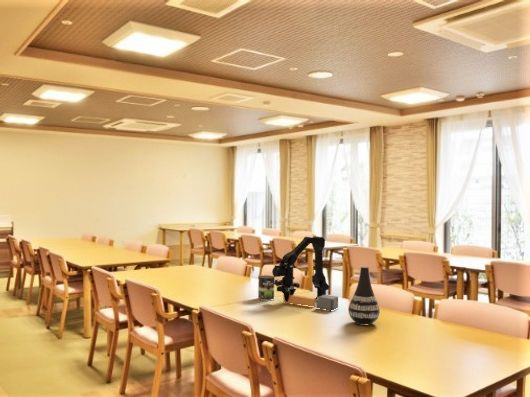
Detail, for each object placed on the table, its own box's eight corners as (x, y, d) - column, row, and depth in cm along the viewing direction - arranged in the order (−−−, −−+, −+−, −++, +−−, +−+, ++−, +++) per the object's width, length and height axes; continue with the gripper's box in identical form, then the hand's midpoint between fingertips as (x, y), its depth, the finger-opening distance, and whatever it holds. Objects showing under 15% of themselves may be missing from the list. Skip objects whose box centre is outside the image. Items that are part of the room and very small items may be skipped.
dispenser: (316, 309, 281) (316, 296, 281) (322, 306, 287) (322, 294, 287) (332, 311, 275) (332, 298, 275) (337, 308, 282) (338, 296, 282)
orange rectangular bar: (283, 303, 295) (283, 294, 295) (286, 302, 298) (286, 294, 298) (312, 307, 284) (313, 299, 284) (315, 306, 287) (315, 298, 287)
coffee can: (276, 300, 302) (276, 277, 302) (260, 301, 300) (260, 278, 299) (271, 296, 312) (272, 275, 312) (256, 297, 310) (256, 275, 309)
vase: (356, 328, 241) (357, 269, 241) (343, 320, 256) (344, 265, 256) (385, 327, 245) (386, 268, 245) (370, 319, 261) (371, 264, 260)
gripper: (284, 272, 307) (284, 296, 307) (269, 276, 291) (268, 302, 292) (300, 274, 301) (299, 299, 301) (285, 278, 285) (285, 304, 286)
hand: (288, 301), depth 295 cm, fingers closed on orange rectangular bar, 3 cm apart
